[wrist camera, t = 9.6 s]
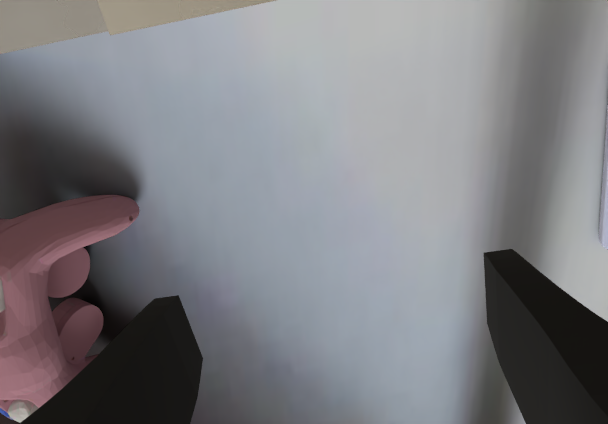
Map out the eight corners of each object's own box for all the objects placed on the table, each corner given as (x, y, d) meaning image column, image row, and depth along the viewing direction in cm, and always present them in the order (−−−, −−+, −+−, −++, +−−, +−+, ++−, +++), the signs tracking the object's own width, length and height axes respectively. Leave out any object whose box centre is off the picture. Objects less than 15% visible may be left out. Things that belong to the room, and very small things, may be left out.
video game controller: (68, 167, 24) (-102, 242, 18) (147, 191, 22) (-17, 282, 16) (108, 340, 28) (-18, 439, 23) (175, 371, 26) (55, 488, 21)
